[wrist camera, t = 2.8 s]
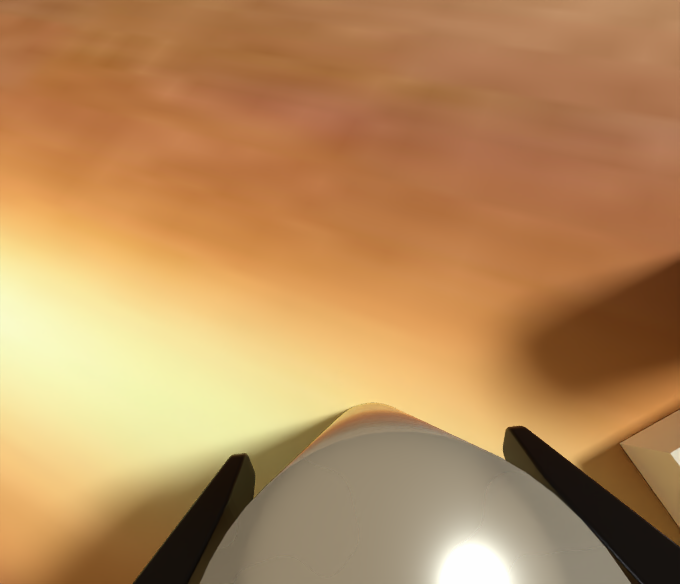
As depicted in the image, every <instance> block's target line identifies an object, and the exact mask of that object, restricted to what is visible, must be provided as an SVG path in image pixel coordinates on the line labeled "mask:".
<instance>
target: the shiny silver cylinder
mask: <svg viewBox="0 0 680 584" xmlns="http://www.w3.org/2000/svg"><path fill="white" fill-rule="evenodd" d="M200 584H631V583H630V581H629V580H628V579H627V577H626V576H625V574H624V573H623V571H622V570H621V569H620V567H619V566H618V564H617V563H616V561H615V560H614V559H613V557H612V556H611V554H610V553H609V551H608V550H607V549H606V547H605V546H604V545H603V544H602V543H601V542H600V541H599V539H598V538H597V537H596V536H595V535H594V534H593V532H592V531H591V530H590V529H589V528H588V527H587V525H586V524H585V523H584V522H583V521H582V520H581V519H580V518H579V517H578V516H577V515H576V514H575V513H574V512H573V511H572V510H571V509H570V508H569V507H568V506H567V505H566V504H565V503H564V502H562V501H561V500H560V499H559V498H558V497H557V496H556V495H555V494H554V493H552V492H551V491H550V490H549V489H547V488H546V487H545V486H543V485H542V484H541V483H539V482H538V481H537V480H535V479H534V478H533V477H531V476H530V475H529V474H527V473H526V472H524V471H522V470H521V469H519V468H517V467H516V466H514V465H512V464H511V463H509V462H507V461H506V460H504V459H502V458H501V457H499V456H496V455H494V454H492V453H490V452H488V451H486V450H484V449H481V448H479V447H477V446H475V445H473V444H471V443H469V442H466V441H464V440H462V439H460V438H458V437H456V436H454V435H452V434H449V433H447V432H445V431H443V430H441V429H439V428H437V427H434V426H432V425H430V424H428V423H426V422H424V421H422V420H419V419H417V418H415V417H413V416H411V415H409V414H407V413H404V412H402V411H400V410H398V409H396V408H394V407H391V406H389V405H385V404H380V403H365V404H361V405H357V406H355V407H352V408H350V409H349V410H347V411H346V412H344V413H343V414H342V415H341V416H340V417H338V418H337V419H336V420H335V421H334V422H333V423H332V424H331V425H330V426H329V427H328V428H327V429H326V430H325V431H324V432H323V433H321V434H320V435H319V436H318V437H317V438H316V439H315V440H314V441H313V442H312V443H311V444H310V445H309V446H308V447H307V448H306V449H305V450H303V451H302V452H301V453H300V454H299V455H298V456H297V457H296V458H295V459H294V460H293V461H292V462H291V463H290V464H289V465H288V466H287V467H285V468H284V469H283V470H282V471H281V472H280V473H279V474H278V475H277V476H276V477H275V478H274V479H273V480H272V481H271V482H270V483H269V484H267V485H266V486H265V487H264V489H263V490H262V491H261V492H260V493H259V494H258V495H257V496H256V497H255V498H254V499H253V500H252V501H251V502H250V503H249V504H248V505H247V506H246V507H245V509H244V510H243V511H242V513H241V514H240V515H239V517H238V518H237V519H236V521H235V522H234V523H233V525H232V526H231V527H230V529H229V530H228V531H227V533H226V535H225V536H224V538H223V540H222V541H221V543H220V545H219V546H218V548H217V550H216V552H215V553H214V555H213V557H212V558H211V560H210V562H209V564H208V566H207V569H206V571H205V573H204V575H203V577H202V580H201V582H200Z"/></svg>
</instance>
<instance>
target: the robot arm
mask: <svg viewBox="0 0 680 584" xmlns="http://www.w3.org/2000/svg"><path fill="white" fill-rule="evenodd" d="M503 453H504V457H505V459H506V461H507V462H509V463H511V464H512V465H514V466H516V467H517V468H519V469H521V470H522V471H524V472H526V473H527V474H529V475H530V476H531V477H533V478H534V479H535V480H537V481H538V482H539V483H541V484H542V485H543V486H545V487H546V488H547V489H549V490H550V491H551V492H552V493H554V494H555V495H556V496H557V497H558V498H559V499H560V500H561V501H562V502H564V503H565V504H566V505H567V506H568V507H569V508H570V509H571V510H572V511H573V512H574V513H575V514H576V515H577V516H578V517H579V518H580V519H581V520H582V521H583V522H584V523H585V524H586V525H587V527H588V528H589V529H590V530H591V531H592V532H593V534H594V535H595V536H596V537H597V538H598V539H599V541H600V542H601V543H602V544H603V545H604V546H605V547H606V549H607V550H608V551H609V553H610V554H611V556H612V557H613V559H614V560H615V561H616V563H617V564H618V566H619V567H620V569H621V570H622V571H623V573H624V574H625V576H626V577H627V579H628V580H629V581H630V583H631V584H680V547H679V546H678V545H677V544H675V543H674V542H673V541H672V540H670V539H669V538H668V537H666V536H665V535H664V534H662V533H661V532H660V531H659V530H657V529H656V528H655V527H653V526H652V525H651V524H650V523H648V522H647V521H646V520H644V519H643V518H642V517H641V516H639V515H638V514H637V513H635V512H634V511H633V510H632V509H630V508H629V507H628V506H626V505H625V504H624V503H622V502H621V501H620V500H619V499H617V498H616V497H615V496H613V495H612V494H611V493H610V492H608V491H607V490H606V489H604V488H603V487H602V486H601V485H599V484H598V483H597V482H595V481H594V480H593V479H591V478H590V477H589V476H588V475H586V474H585V473H584V472H582V471H581V470H580V469H579V468H577V467H576V466H575V465H573V464H572V463H571V462H570V461H568V460H567V459H566V458H564V457H563V456H562V455H561V454H559V453H558V452H557V451H555V450H554V449H553V448H551V447H550V446H549V445H548V444H546V443H545V442H544V441H542V440H541V439H540V438H539V437H537V436H536V435H535V434H533V433H532V432H531V431H530V430H528V429H527V428H525V427H523V426H513V427H508V428H507V429H506V431H505V437H504V443H503ZM254 486H255V472H254V469H253V466H252V464H251V461H250V459H249V456H248V455H247V454H246V453H242V454H234V455H232V456H230V457H229V459H228V460H227V461H226V462H225V464H224V465H223V466H222V468H221V469H220V470H219V472H218V473H217V474H216V476H215V477H214V478H213V479H212V481H211V482H210V483H209V485H208V486H207V487H206V489H205V490H204V491H203V492H202V494H201V495H200V496H199V498H198V499H197V500H196V502H195V503H194V504H193V505H192V507H191V508H190V509H189V511H188V512H187V513H186V515H185V516H184V517H183V519H182V520H181V521H180V522H179V524H178V525H177V526H176V528H175V529H174V530H173V532H172V533H171V534H170V535H169V537H168V538H167V539H166V541H165V542H164V543H163V545H162V546H161V547H160V548H159V550H158V551H157V552H156V554H155V555H154V556H153V558H152V559H151V560H150V561H149V563H148V564H147V565H146V567H145V568H144V569H143V571H142V572H141V573H140V575H139V576H138V577H137V578H136V580H135V581H134V582H133V584H200V582H201V580H202V577H203V575H204V573H205V571H206V569H207V566H208V564H209V562H210V560H211V558H212V557H213V555H214V553H215V552H216V550H217V548H218V546H219V545H220V543H221V541H222V540H223V538H224V536H225V535H226V533H227V531H228V530H229V529H230V527H231V526H232V525H233V523H234V522H235V521H236V519H237V518H238V517H239V515H240V514H241V513H242V511H243V510H244V509H245V507H246V506H247V505H248V504H249V503H250V502H251V501H252V500H253V495H254Z"/></svg>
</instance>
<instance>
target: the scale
mask: <svg viewBox="0 0 680 584" xmlns="http://www.w3.org/2000/svg"><path fill="white" fill-rule="evenodd" d="M620 445H621V446H622V448H623V449H624V450H625V452H626V453H627V455H628V456H629V457H630V459H631V460H632V462H633V463H634V465H635V466H636V467H637V469H638V470H639V472H640V473H641V474H642V476H643V477H644V479H645V480H646V481H647V483H648V484H649V486H650V487H651V488H652V490H653V491H654V493H655V494H656V495H657V497H658V498H659V500H660V501H661V502H662V504H663V505H664V507H665V508H666V510H667V511H668V512H669V514H670V515H671V517H672V518H673V519H674V521H675V522H676V524H677V525H678V526H679V528H680V410H678V411H676V412H674V413H673V414H671V415H669V416H667V417H665V418H664V419H662V420H660V421H658V422H656V423H655V424H653V425H651V426H649V427H648V428H646V429H644V430H642V431H640V432H639V433H637V434H635V435H633V436H632V437H630V438H628V439H626V440H624V441H623V442H621V443H620Z"/></svg>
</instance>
